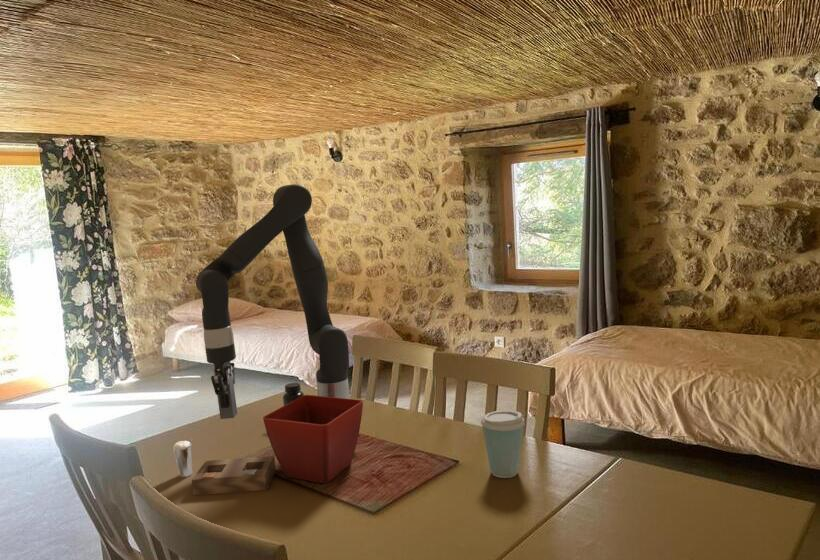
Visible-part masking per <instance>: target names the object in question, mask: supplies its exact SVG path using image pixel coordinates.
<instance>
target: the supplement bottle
mask: <svg viewBox="0 0 820 560" xmlns="http://www.w3.org/2000/svg"><path fill="white" fill-rule="evenodd" d="M301 390H302V388H301V384H300V382H291V383H286V384H285V385H284V392H285V393H283V395H282V403H283V406H285V405H286V404H288V403H290V402H292V401H294V400H296V399H298V398H299V397H301V396H304V395H305V393H304V392H303V391H301Z"/></svg>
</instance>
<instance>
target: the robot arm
mask: <svg viewBox="0 0 820 560" xmlns="http://www.w3.org/2000/svg"><path fill="white" fill-rule="evenodd" d="M312 197H313V196H312V194H311V191H309V189H308V188H307V187H305V186H304V185H301V184H296V183H294V184H293V183H292V184H287V185H282V186H280V187H278V188H277V189H276V190H275V192H274V193H273V197H272V205H273V207H271V209H270V210H269V211H268V212H267V213H266V214H265V215H264V216H263V217H262V218H261V219H260V220H258V221H257V222H256V223H254V224H253V225H252V226H251V227H249V228H248V229H246V230H245V231H244V232H243V233H241V234H240V235H239V236H238V237H237V238H236V239H235V240H234V241H233V242H232V243H231V244H230V245H228V247H227V248H226V249H225V250H224V251H223V252H222V253H221V254H220V255H219V256H218V257H216V258H215V259H214V260H213V261H212V262H210V263H209V264H208V265H206V266H205V267H204V268H202V270H200V272H199V274H198V275H197V276H196V279H195V285H196V289H197V290H198V291H199V292H200V293H201V299H202V306H203V308H202V310H201V316H202V317H201V318H202V326H203V340H204V349H205V354H206V355H205V357H206V362H207V363H208V364H213V365H214V369H213V375H211V376H210V379H211V383H212V386H213V389H214V390H213V391H214V394H215V396H217V395H219V397H220V404H221V408H228V407H229V406H230V404H229V397H228V385H229V381H228V380H229V375H232V376H233V383H234V385H235V384H236V377H235V376H236V375H235V370H236V369H235V366H236V365H235V362H232V361H234V360H236V357H237V354H236V346H235V338H234V333H233V328H232V322H231V315H230V310H229V299H230V298H229V293H230V292H229V285H228V282H229V281H230V280H231V279H232V278H233V277H234V276H235V275H236V274H240V273H241V272H242V271H243V270H245V269H246V268H247V267H248V266H249V264H251V263H252V262H253V260H255V259H256V257H257V256H259V255H260V253H261V252H262V251H263V250H264V249H266V247H267V246H268V245H269V244H270V243H271V242H272V241H274V239H276V237H278V235H280V234H281V233H283V236H284V239H285V245H286V249H287V254H288V259H289V261H290V265H291V271H292V274H293V275H292V276H293V278H294V282H295V285H296V289H297V291H298V296H299V299H300V303H301V305H302V309H303V313H304V317H305V324H306V329H307V337H308V343H309V345H310V347H311V349H312V350H313V352H314V353H316V354H318V356H319V368H318V369H317V370H316V373H315V377H316V378H315V380H316V388H317V390H316V391H317V396H324V397H335V398H345V399H351V398H350V389H349V388H350V387H349V377H348V372H349V368H350V353H349V350H350V349H349V340H348V336H347V334H346V333H345V332H344V330H342V329H341V328H339V327H336V326H334V324H333V322H332V318H331V316H330V312H329V308H328V291H329V279H328V275H327V270H326V267H325V262H324V259H323V256H322V254H321V252H320V250H319V248H318V246H317V244H316V243H315V241H314V239H313V236H311V233H310V230H309V228H308V224H307V220H306V214H307V213H308V212H309V211H310V209H311V208H312V205H313V204H312V203H313V198H312ZM225 380H226V382H225V383H223V381H225ZM220 388H222V390H221V389H220Z"/></svg>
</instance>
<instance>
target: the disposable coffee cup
mask: <svg viewBox="0 0 820 560" xmlns="http://www.w3.org/2000/svg"><path fill="white" fill-rule="evenodd" d="M480 424H481V426H482V432H483V436H484V437H483V438H484V442H485V447H486V453H487V459H488V463H489V469H490V472H491V474H492V476H494V477H496V478H499V479H500V478H501V479H510V478H513V477H515V476H517V475H518V472H519V469H520V458H521V452H522V451H521V449H522V442H523V434H524V426H525V425H526V423H525V419H524V417H523V414H522V413H521V412H520V411H515V410H505V409H504V410H495V411H491V412H489V413H486V414H484V415H483V416H482V418H481V422H480Z"/></svg>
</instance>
